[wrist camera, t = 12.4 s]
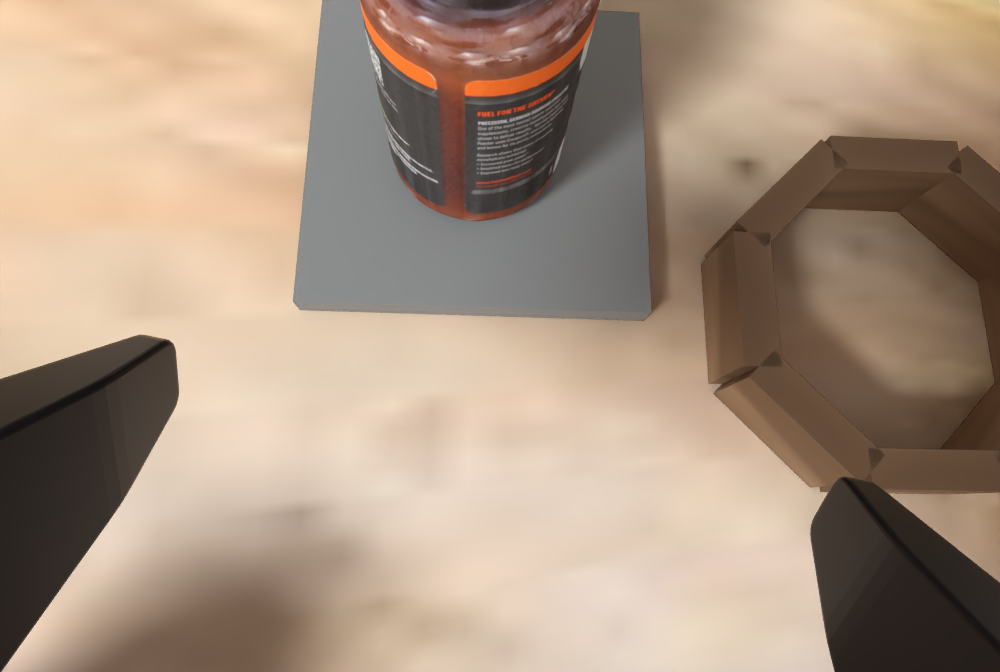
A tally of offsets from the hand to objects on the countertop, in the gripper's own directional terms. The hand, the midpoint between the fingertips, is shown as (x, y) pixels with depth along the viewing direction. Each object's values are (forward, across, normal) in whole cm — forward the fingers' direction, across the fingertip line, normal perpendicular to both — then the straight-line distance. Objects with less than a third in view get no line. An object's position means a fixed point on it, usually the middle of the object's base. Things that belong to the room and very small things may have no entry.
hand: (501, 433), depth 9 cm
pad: (+18, +2, +2) cm, 18 cm away
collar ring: (+15, -12, +4) cm, 20 cm away
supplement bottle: (+17, +2, +1) cm, 17 cm away
